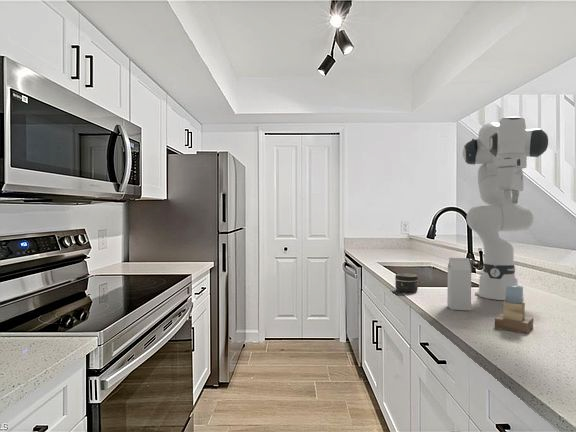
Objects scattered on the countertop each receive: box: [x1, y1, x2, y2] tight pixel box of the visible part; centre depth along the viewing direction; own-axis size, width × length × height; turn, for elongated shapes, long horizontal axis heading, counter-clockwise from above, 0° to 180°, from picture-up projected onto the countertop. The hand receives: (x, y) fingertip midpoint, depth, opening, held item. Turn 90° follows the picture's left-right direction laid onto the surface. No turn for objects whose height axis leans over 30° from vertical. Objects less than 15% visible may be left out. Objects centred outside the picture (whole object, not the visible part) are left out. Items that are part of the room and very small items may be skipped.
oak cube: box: [502, 301, 526, 321], centre depth 132 cm, size 5×5×5 cm
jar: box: [394, 273, 419, 294], centre depth 192 cm, size 10×10×8 cm
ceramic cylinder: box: [504, 284, 524, 304], centre depth 132 cm, size 5×5×5 cm
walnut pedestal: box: [494, 313, 534, 334], centre depth 132 cm, size 9×9×3 cm
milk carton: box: [446, 257, 472, 311], centre depth 159 cm, size 7×7×19 cm
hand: (511, 203), depth 145 cm, fingers open, 8 cm apart
